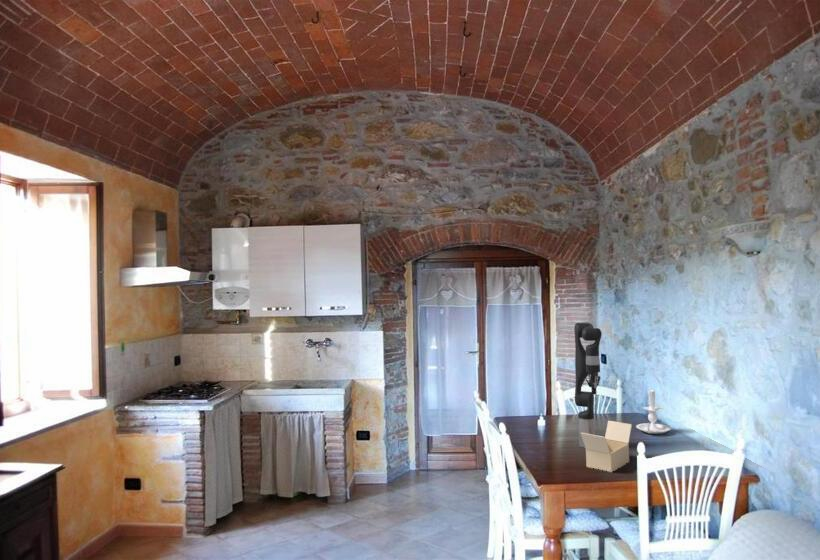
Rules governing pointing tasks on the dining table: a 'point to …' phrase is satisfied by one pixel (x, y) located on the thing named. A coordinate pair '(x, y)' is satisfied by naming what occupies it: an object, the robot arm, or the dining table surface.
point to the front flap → (595, 442)
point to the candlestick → (652, 418)
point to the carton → (608, 457)
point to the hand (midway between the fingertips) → (594, 394)
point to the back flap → (618, 431)
